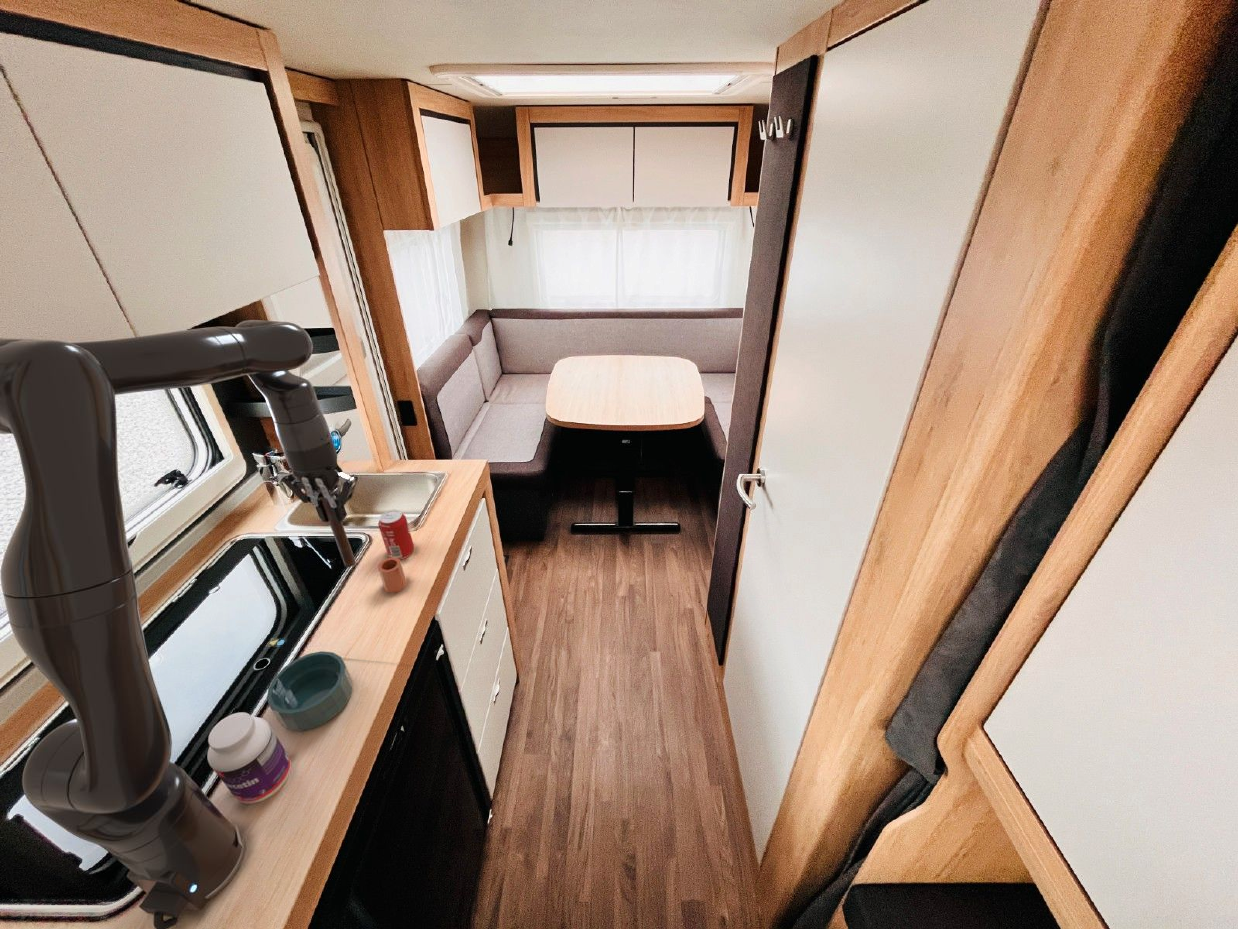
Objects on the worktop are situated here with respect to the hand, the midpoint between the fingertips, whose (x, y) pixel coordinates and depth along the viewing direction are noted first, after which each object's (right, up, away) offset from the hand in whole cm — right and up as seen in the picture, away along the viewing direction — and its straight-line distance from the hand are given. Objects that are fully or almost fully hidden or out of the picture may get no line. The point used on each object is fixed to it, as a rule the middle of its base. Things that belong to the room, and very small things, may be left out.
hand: (334, 519), depth 95 cm
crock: (+1, -18, +24) cm, 30 cm away
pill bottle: (-4, -41, -12) cm, 43 cm away
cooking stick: (0, -9, +6) cm, 11 cm away
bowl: (-3, -34, -1) cm, 34 cm away
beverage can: (-1, -12, +33) cm, 35 cm away
